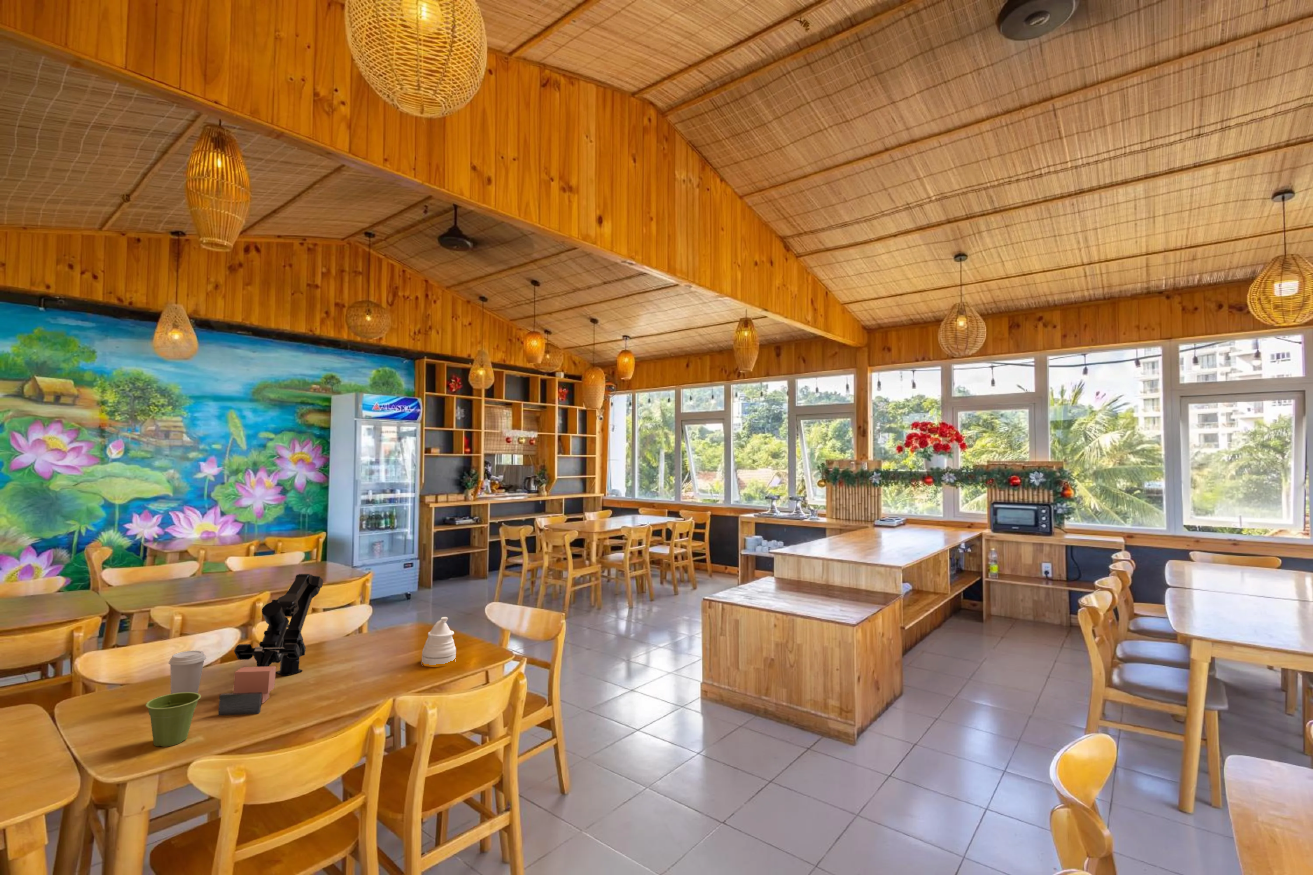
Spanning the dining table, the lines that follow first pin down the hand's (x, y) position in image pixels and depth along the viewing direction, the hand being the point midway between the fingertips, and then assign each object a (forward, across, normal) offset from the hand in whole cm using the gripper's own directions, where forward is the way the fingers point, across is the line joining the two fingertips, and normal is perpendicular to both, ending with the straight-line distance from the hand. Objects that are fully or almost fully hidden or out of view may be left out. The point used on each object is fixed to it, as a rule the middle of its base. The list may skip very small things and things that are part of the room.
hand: (258, 675), depth 196 cm
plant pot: (+27, +9, +16) cm, 33 cm away
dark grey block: (+10, 0, -1) cm, 10 cm away
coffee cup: (+5, +21, -6) cm, 23 cm away
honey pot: (-19, -52, -30) cm, 63 cm away
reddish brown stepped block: (+7, 0, -3) cm, 8 cm away
